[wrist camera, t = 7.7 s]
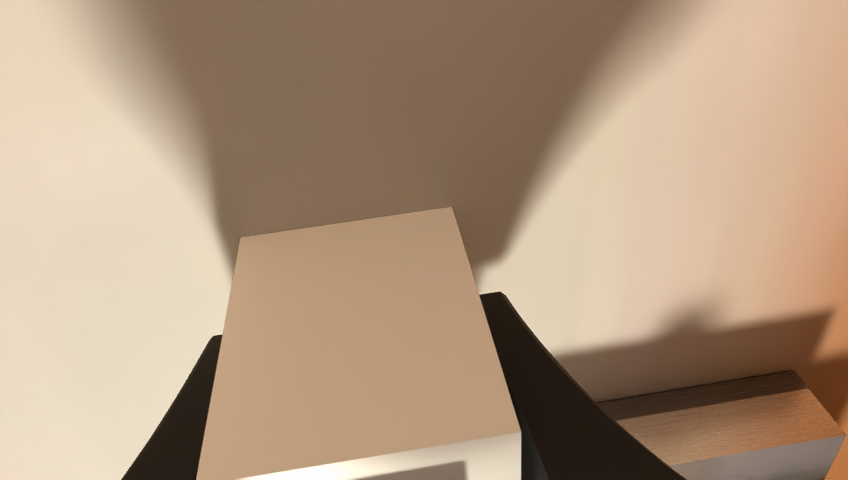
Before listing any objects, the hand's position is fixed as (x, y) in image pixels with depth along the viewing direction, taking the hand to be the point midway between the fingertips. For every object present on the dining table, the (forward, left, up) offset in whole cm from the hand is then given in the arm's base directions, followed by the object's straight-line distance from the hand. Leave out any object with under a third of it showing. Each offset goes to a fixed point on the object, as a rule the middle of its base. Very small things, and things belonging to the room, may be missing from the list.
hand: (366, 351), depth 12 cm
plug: (0, 0, -2) cm, 2 cm away
